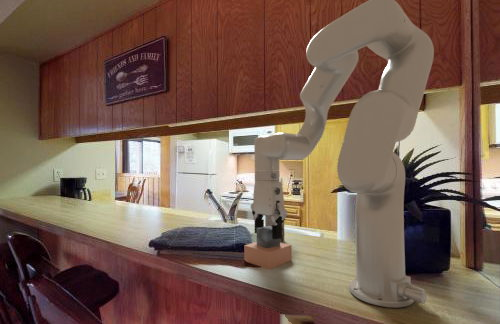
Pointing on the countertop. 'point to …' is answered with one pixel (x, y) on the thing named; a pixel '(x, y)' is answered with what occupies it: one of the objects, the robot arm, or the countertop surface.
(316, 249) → the countertop surface
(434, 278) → the countertop surface
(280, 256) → the terracotta block
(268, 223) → the coffee box
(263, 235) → the slate cube
